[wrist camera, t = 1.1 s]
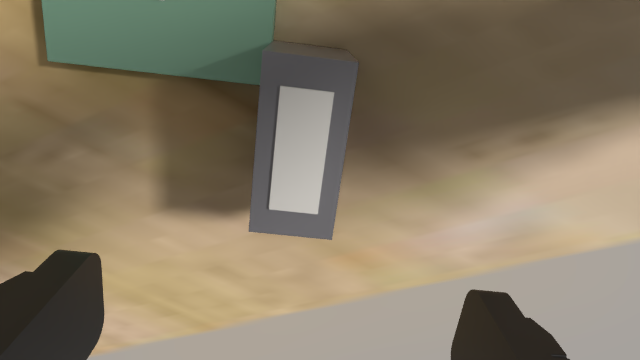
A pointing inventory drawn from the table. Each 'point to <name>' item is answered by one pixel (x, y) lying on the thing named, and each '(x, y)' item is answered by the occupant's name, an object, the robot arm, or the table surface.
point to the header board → (163, 36)
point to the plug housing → (301, 138)
